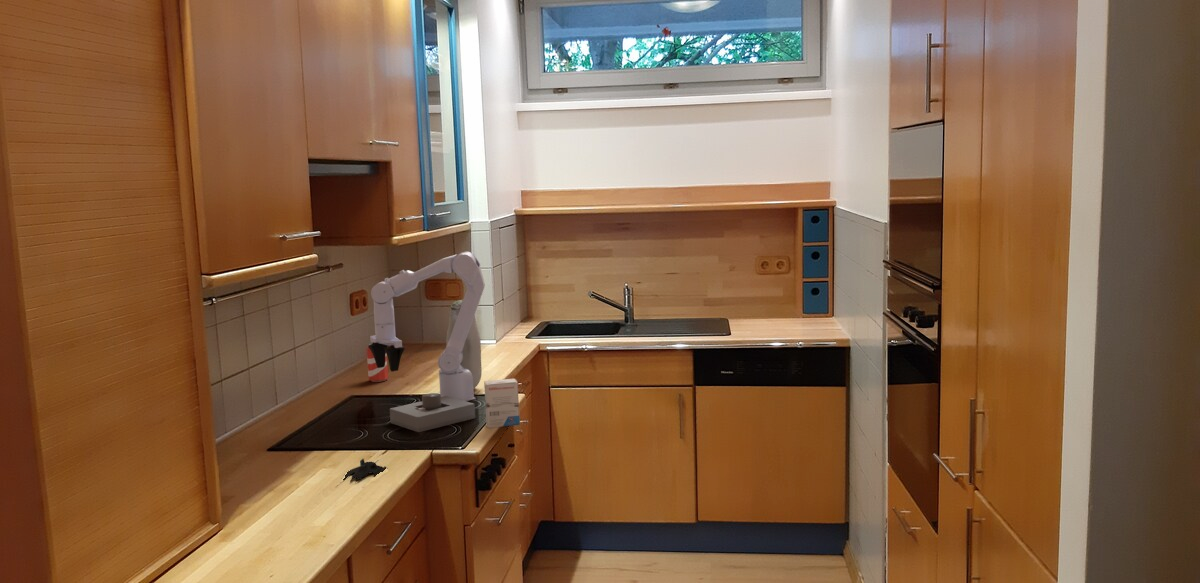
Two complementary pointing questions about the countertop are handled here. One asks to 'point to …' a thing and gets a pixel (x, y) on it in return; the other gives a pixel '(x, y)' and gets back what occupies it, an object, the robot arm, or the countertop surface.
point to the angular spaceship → (364, 470)
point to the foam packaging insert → (432, 414)
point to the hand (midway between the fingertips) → (387, 369)
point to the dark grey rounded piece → (431, 401)
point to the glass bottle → (468, 344)
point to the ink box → (501, 403)
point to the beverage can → (373, 371)
